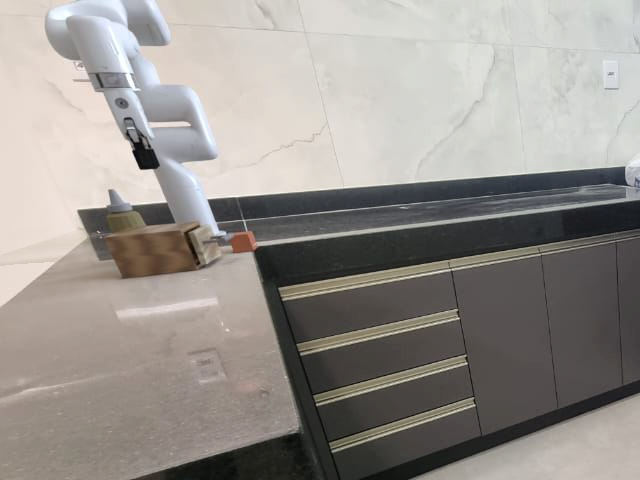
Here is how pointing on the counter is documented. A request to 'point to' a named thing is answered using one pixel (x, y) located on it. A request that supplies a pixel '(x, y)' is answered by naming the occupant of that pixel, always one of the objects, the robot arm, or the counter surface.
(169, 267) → the cabinet
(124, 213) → the squeeze bottle
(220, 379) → the counter surface
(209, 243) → the drawer
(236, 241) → the block
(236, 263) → the counter surface
